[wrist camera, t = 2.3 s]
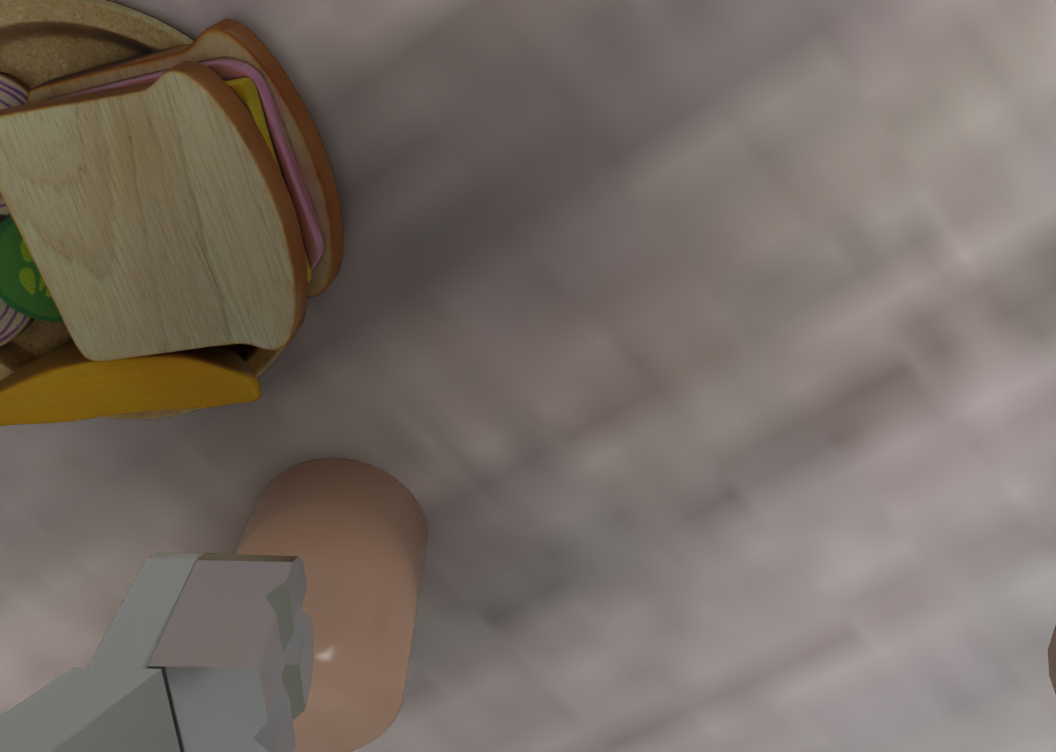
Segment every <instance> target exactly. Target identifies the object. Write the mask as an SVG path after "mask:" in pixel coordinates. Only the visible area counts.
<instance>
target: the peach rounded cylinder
mask: <svg viewBox="0 0 1056 752" xmlns="http://www.w3.org/2000/svg"><path fill="white" fill-rule="evenodd" d="M427 540H428V531H427V525H426V520H425V517H424V514H423V511H422V509H421V507H420V505H419V503H418V502H417V501H416V499H415V498H414V496H413V495H412V494H411V493H410V491H409V490H408V489H407V488H406V487H405V486H404V485H403V484H401V483H400V482H399V481H398V480H397V479H395V478H394V477H392V476H391V475H389V474H388V473H386V472H384V471H382V470H380V469H378V468H376V467H373V466H371V465H368V464H365V463H361V462H357V461H353V460H346V459H318V460H313V461H308V462H305V463H302V464H298V465H296V466H294V467H292V468H289V469H287V470H286V471H284V472H283V473H281V474H279V475H278V476H277V477H276V478H275V479H273V480H272V481H271V482H270V483H269V484H268V486H267V487H266V488H265V489H264V491H263V492H262V494H261V495H260V497H259V499H258V502H257V504H256V506H255V509H254V511H253V513H252V515H251V518H250V520H249V522H248V524H247V527H246V529H245V531H244V534H243V536H242V538H241V540H240V543H239V545H238V547H237V549H236V552H235V554H247V555H278V556H299V557H300V559H301V560H302V561H303V563H304V569H305V575H306V581H307V589H306V593H305V596H304V600H303V604H302V607H301V609H302V610H303V611H304V612H305V613H306V614H307V615H308V616H309V617H310V618H311V619H312V628H313V637H314V661H313V670H312V679H311V687H310V692H309V696H308V700H307V704H306V709H305V710H304V711H303V712H302V713H301V714H300V715H299V716H298V717H297V718H295V719H294V720H293V727H294V734H295V742H296V748H295V752H351V751H353V750H356V749H359V748H361V747H363V746H365V745H367V744H369V743H370V742H372V741H373V740H375V739H376V738H378V737H379V736H380V735H381V734H382V733H383V732H384V731H386V730H387V729H388V727H389V726H390V725H391V724H392V722H393V721H394V719H395V718H396V716H397V714H398V712H399V710H400V707H401V704H402V701H403V695H404V688H405V682H406V675H407V669H408V663H409V656H410V650H411V643H412V637H413V630H414V624H415V618H416V611H417V605H418V598H419V592H420V585H421V579H422V573H423V566H424V560H425V553H426V547H427Z"/></svg>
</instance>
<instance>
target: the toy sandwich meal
mask: <svg viewBox="0 0 1056 752" xmlns="http://www.w3.org/2000/svg"><path fill="white" fill-rule="evenodd" d="M343 244H344V236H343V225H342V214H341V207H340V201H339V197H338V192H337V188H336V183H335V179H334V176H333V172H332V169H331V166H330V163H329V160H328V157H327V154H326V151H325V149H324V146H323V144H322V141H321V138H320V136H319V134H318V132H317V129H316V127H315V125H314V123H313V121H312V119H311V117H310V114H309V112H308V110H307V108H306V106H305V104H304V103H303V101H302V99H301V97H300V95H299V94H298V92H297V90H296V89H295V87H294V85H293V83H292V82H291V80H290V79H289V77H288V76H287V74H286V73H285V71H284V70H283V68H282V66H281V65H280V64H279V62H278V61H277V60H276V58H275V57H274V56H273V55H272V53H271V52H270V51H269V50H268V49H267V47H266V46H265V45H264V44H263V43H262V42H261V40H260V39H259V38H258V37H257V36H256V35H254V34H253V33H252V32H251V31H250V30H249V29H248V28H247V27H245V26H243V25H242V24H240V23H239V22H236V21H233V20H230V19H225V20H223V21H221V22H219V23H217V24H215V25H213V26H211V27H209V28H207V29H206V30H205V31H204V32H203V33H201V34H200V35H199V36H198V37H197V39H196V40H195V41H193V40H191V39H190V38H189V37H187V36H186V35H184V34H182V33H181V32H179V31H177V30H176V29H174V28H172V27H170V26H168V25H166V24H164V23H162V22H161V21H159V20H157V19H155V18H153V17H150V16H148V15H146V14H144V13H141V12H139V11H136V10H133V9H131V8H128V7H125V6H122V5H120V4H117V3H113V2H110V1H106V0H0V426H4V425H18V424H38V423H56V422H68V421H77V420H83V419H90V418H96V417H104V418H113V419H157V418H164V417H171V416H176V415H181V414H186V413H189V412H193V411H196V410H200V409H202V408H209V407H216V406H223V405H229V404H236V403H244V402H252V401H255V400H258V399H260V398H261V387H260V384H259V381H258V379H257V377H259V376H260V375H261V374H262V373H263V372H264V371H265V370H266V369H267V368H268V367H269V366H270V365H271V364H272V363H273V362H274V361H275V360H276V359H277V357H278V356H279V355H280V354H281V352H282V351H283V350H284V348H285V347H286V345H288V343H289V342H290V341H291V339H292V338H293V337H294V335H295V334H296V332H297V331H298V329H299V328H300V326H301V324H302V322H303V319H304V316H305V313H306V306H307V300H308V297H313V296H318V295H320V294H321V293H323V292H324V291H325V290H326V289H327V288H328V286H329V285H330V284H331V282H332V281H333V280H334V278H335V277H336V276H337V274H338V272H339V271H340V267H341V263H342V257H343Z"/></svg>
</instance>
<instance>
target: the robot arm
mask: <svg viewBox="0 0 1056 752" xmlns="http://www.w3.org/2000/svg"><path fill="white" fill-rule="evenodd" d="M306 589H307V581H306V575H305V569H304V563H303V561H302V560H301V559H300V557H299V556H278V555H247V554H216V553H204V554H192V553H155V554H153V555H152V556H151V557H149V558H148V559H147V560H146V561H145V562H144V563H143V565H142V567H141V569H140V571H139V573H138V575H137V576H136V578H135V580H134V582H133V584H132V586H131V588H130V589H129V591H128V593H127V595H126V597H125V599H124V601H123V602H122V604H121V606H120V608H119V610H118V612H117V614H116V616H115V617H114V619H113V621H112V623H111V625H110V627H109V629H108V630H107V632H106V634H105V636H104V638H103V640H102V642H101V643H100V645H99V647H98V649H97V651H96V653H95V655H94V656H93V658H92V660H91V662H90V664H89V666H88V668H72V669H70V670H69V671H67V672H66V673H64V674H63V675H61V676H60V677H58V678H57V679H55V680H54V681H52V682H51V683H49V684H48V685H46V686H45V687H43V688H42V689H40V690H39V691H37V692H36V693H34V694H33V695H31V696H30V697H28V698H27V699H26V700H24V701H23V702H21V703H20V704H18V705H17V706H15V707H14V708H12V709H11V710H9V711H8V712H6V713H5V714H3V715H2V716H0V752H295V748H296V742H295V734H294V727H293V720H294V719H295V718H297V717H298V716H299V715H300V714H301V713H302V712H303V711H304V710H305V709H306V704H307V700H308V696H309V692H310V687H311V679H312V670H313V661H314V637H313V628H312V619H311V618H310V617H309V616H308V615H307V614H306V613H305V612H304V611H303V610H302V609H301V607H302V604H303V600H304V596H305V593H306ZM1048 661H1049V676H1050V679H1051V682H1052V685H1053V688H1054V690H1055V693H1056V626H1055V629H1054V632H1053V635H1052V638H1051V642H1050V645H1049V648H1048Z"/></svg>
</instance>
